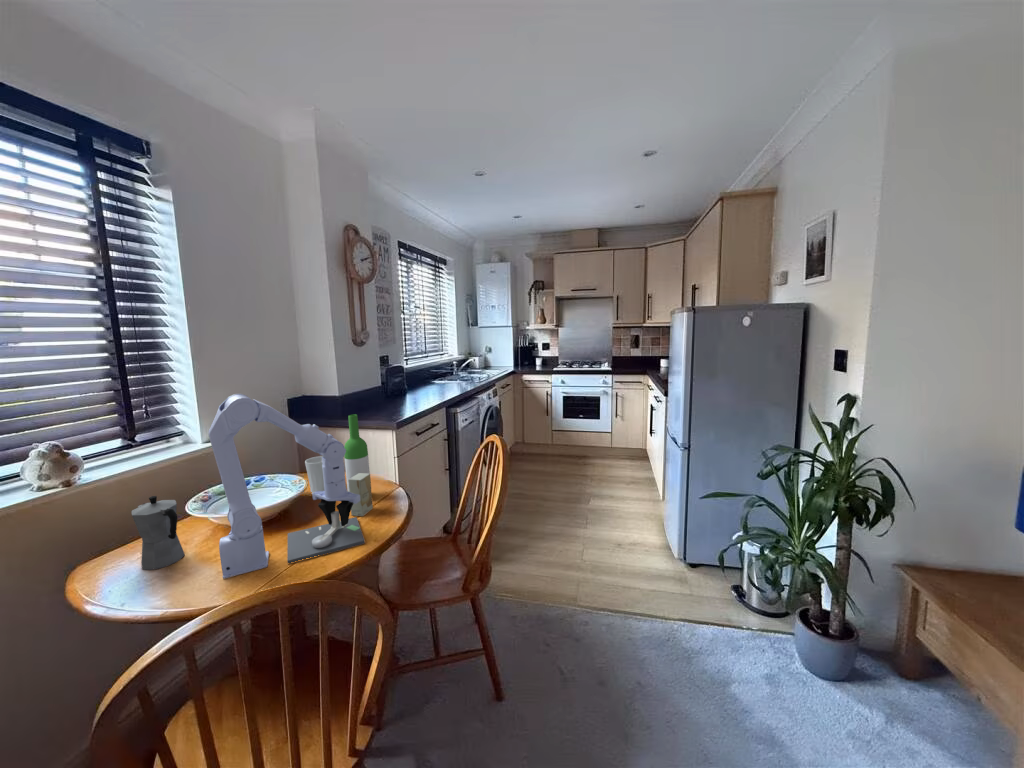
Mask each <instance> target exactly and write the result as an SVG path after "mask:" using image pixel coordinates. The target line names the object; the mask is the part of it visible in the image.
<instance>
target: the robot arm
mask: <svg viewBox="0 0 1024 768" xmlns="http://www.w3.org/2000/svg"><path fill="white" fill-rule="evenodd" d="M253 421H255V422H256V423H265V422H268V423H270V424H272V425H274V426H275V427H278V428H280V429H281V430H284V431H286V432H288V433H290V434H292V435H294V440H295V443H297V444H299V445H300V446H303V447H304V448H306V449H308V450H309V451H312V452H314V453H316V454H319V456H323V457H322V469H323V479H324V490H325V491H316V492H314V493H311V494H312V500H313V501H316V500H320V502H319V503H318V504H317V506H318V508H319V509H320V510H321V511H322V513H323V514H324V516H325V518H326V520H327V524H329V525H331V524H332V520H331V513H332V512H334V511H336V509H337V511H339V517H340V521H341V525H342V526H345V525H346V524H348V520H349V519H350V515H351V508H352V506H353V504H357V503H358V502H360V495H358V494H354V493H351V492H348V490H347V480H346V469H345V461H344V458H345V457H344V455H345V453H346V449H345V448H344V446H345V445H344V444H343V443H342V442H341V441H339V440H338V439H336V438H335V437H334V435H332V434H330V433H326V432H324V431H323V430H320V429H319V427H320V426H318V425H316V424H314V423H313V424H310V423H306V424H300V423H298V422H297V421H295V420H294V419H292V418H290V417H289V416H287V415H285V414H283V412H281V411H279V410H277V409H275V408H274V407H272V406H270V405H269V404H266V403H265V402H262V401H261V400H256V399H254V398H252V399H251V398H250V397H249V396H248V395H246V394H243V393H234V394H231V395H230V396H229V395H228V397H227V398H226V399H225V400H224V401H223V402H221V404H219V406H218V409H217V411H216V414H215V416H214V419H213V421H212V423H211V425H210V428H209V429H208V437H209V441H210V444H211V448H212V451H213V455H214V458H215V462H216V465H217V469H218V473H219V476H220V479H221V482H222V487H223V489H224V493H225V496H226V500H227V504H228V512H227V514H226V515H227V521H228V523H229V525H230V528H231V529H230V530H229V531H230V532H229V533H228V535H225V536H222V537H220V539H219V543H218V545H219V547H218V549H219V557H220V559H219V560H220V566H221V571H222V572H221V573H222V579H228V578H232V577H234V576H240V575H243V574H246V573H251V572H254V571H258V570H262V569H265V568H268V566H269V558H270V557H269V556H270V551H268V550H266V545H265V544H266V543H265V537H264V536H265V535H264V528H263V520H262V518H261V516H260V515H259V513H258V511H257V509H256V508H257V507H256V506H255V504H253V503H252V500H251V497H250V494H249V491H248V487H247V482H246V479H245V475H244V472H243V469H242V465H241V462H240V457H239V453H238V450H237V447H236V444H235V440H234V438H235V436H236V435H237V434H238V433H239V432H240V430H241V429H242V428H244V427H245V426H248V425H249V424H250V423H252V422H253ZM337 502H339V503H338V504H337V505H336V503H337Z"/></svg>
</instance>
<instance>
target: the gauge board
mask: <svg viewBox="0 0 1024 768" xmlns="http://www.w3.org/2000/svg"><path fill="white" fill-rule="evenodd" d="M340 524H341V523H340ZM330 528H332V524H331V525H329V523H325V524H320V525H316V526H313V527H308V528H305V529H300V530H296V531H292V532H288V533H287V552H286V553H287V556H286V558H287V564H288V563H291V562H295V561H298V560H302V559H306V558H310V557H313V558H315V557H314V556H317V557H319V556H318V555H321V556H324V555H327V553H328V554H330V553H332V554H333V553H335V552H339V551H342V550H346V549H350V548H353V547H357V546H360V545H364V544H366V540H365V537H364V534H363V531H362V528H361V526H360V524H359V521H358V516H355V517H351V518H350V517H349V520H348V524H346V525H345V526H342V525H341V527H340V528H339V529H338V530H337V531H336V532H335V533H334V534H333V535H332V543H331V544H330V545H328V546H326V547H323V548H314V547H313V546H312V540H313V539H314V538H315V537H317V536H320V535H324V534H325V533H326V532H327V531H328V530H329V529H330ZM323 554H324V555H323ZM310 559H311V558H310ZM306 560H307V559H306ZM302 561H303V560H302ZM298 562H299V561H298ZM295 563H296V562H295ZM291 564H292V563H291Z"/></svg>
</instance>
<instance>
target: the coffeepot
mask: <svg viewBox="0 0 1024 768" xmlns="http://www.w3.org/2000/svg"><path fill="white" fill-rule="evenodd" d="M148 500H149V502H145V503H142V504H140V505H137V508H134V509H132V510H131V516H132V517H131V518H132V520H133V522H134V523H135V524H134V525H135V526H136V529H137V531H138V534H139V536H140V538H141V540H142V542H141V559H140V560H141V563H140V565H141V570H145V571H154V570H159V569H162V568H166V567H168V566H171V565H174V564H175V563H178V562H179V561H180V560H181V559H182V558H183V557H184V556H185V552H184V548H183V547H182V544H181V542H180V539H179V536H178V533H177V530H178V529H177V528H178V527H177V526H178V514H177V508H178V507H177V506H178V505H177V501H176V499H162V500H157V495H151V496H149V497H148Z"/></svg>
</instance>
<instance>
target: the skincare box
mask: <svg viewBox="0 0 1024 768" xmlns="http://www.w3.org/2000/svg"><path fill="white" fill-rule="evenodd" d="M371 479H372V478H371V473H370V474H367V473H358V474H357V475H355V476H353V477H352V478H350V479H349V492H351V493H354V494H358V495H360V502H358V503H357V504H353V506H352V508H351V511H350V515H351V516H355V517H364V516H365V515H366V514H368V513H369V512H370V511H371V510H373V508H374V507H373V495H372V482H371V481H372V480H371Z"/></svg>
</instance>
